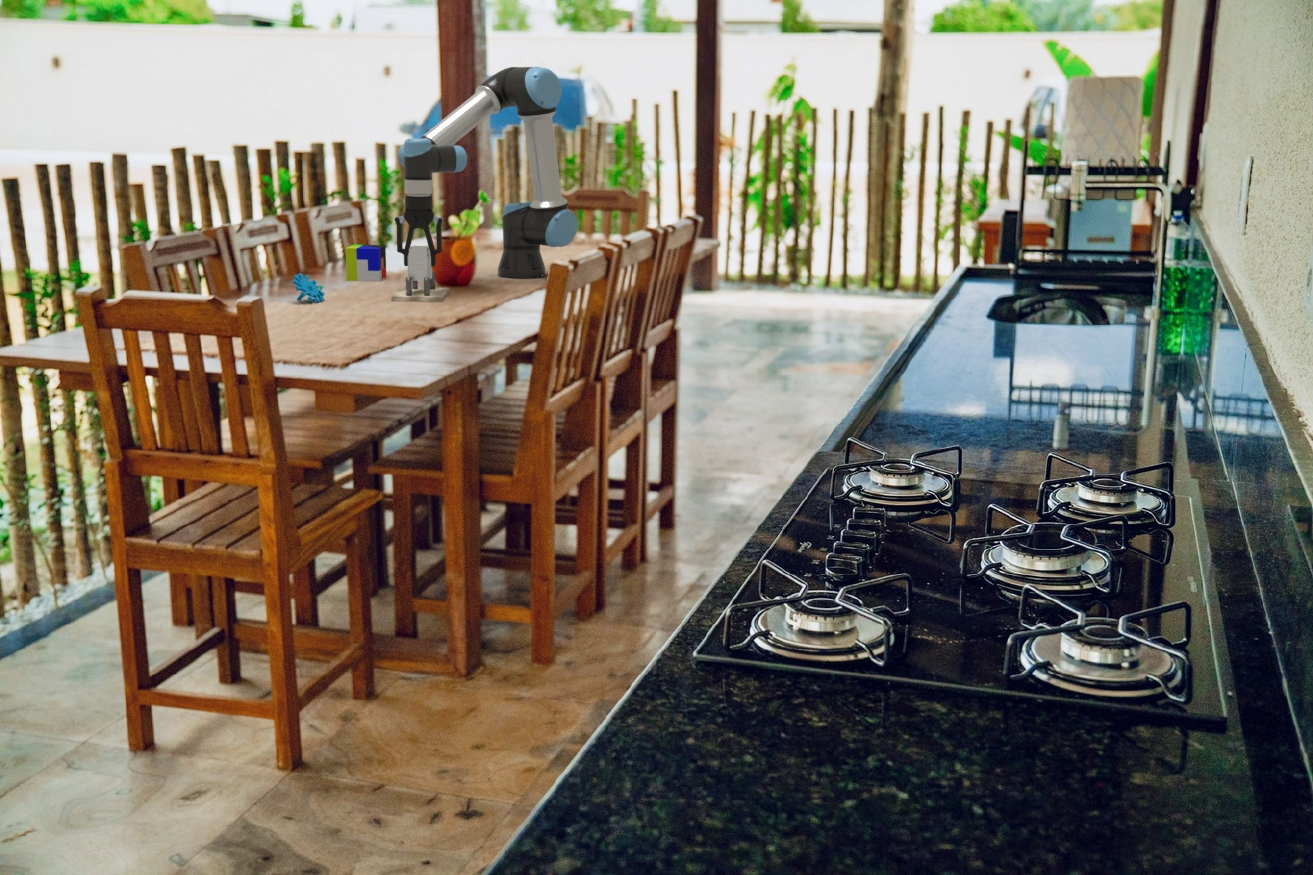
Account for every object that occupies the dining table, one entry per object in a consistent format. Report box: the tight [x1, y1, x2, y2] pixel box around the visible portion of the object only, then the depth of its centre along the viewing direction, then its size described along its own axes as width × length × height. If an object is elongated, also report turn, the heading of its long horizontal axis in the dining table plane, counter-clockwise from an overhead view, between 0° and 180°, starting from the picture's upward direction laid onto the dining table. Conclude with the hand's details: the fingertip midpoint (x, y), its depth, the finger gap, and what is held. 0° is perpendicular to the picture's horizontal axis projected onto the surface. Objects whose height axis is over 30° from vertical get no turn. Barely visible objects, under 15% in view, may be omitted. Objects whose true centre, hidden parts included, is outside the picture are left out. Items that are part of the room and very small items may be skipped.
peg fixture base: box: [390, 270, 450, 303], centre depth 376 cm, size 14×18×6 cm
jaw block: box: [409, 245, 431, 282], centre depth 375 cm, size 5×7×9 cm
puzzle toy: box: [344, 243, 387, 282], centre depth 407 cm, size 10×10×10 cm
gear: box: [292, 272, 325, 304], centre depth 365 cm, size 11×6×10 cm
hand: (420, 277), depth 376 cm, fingers closed on jaw block, 5 cm apart
